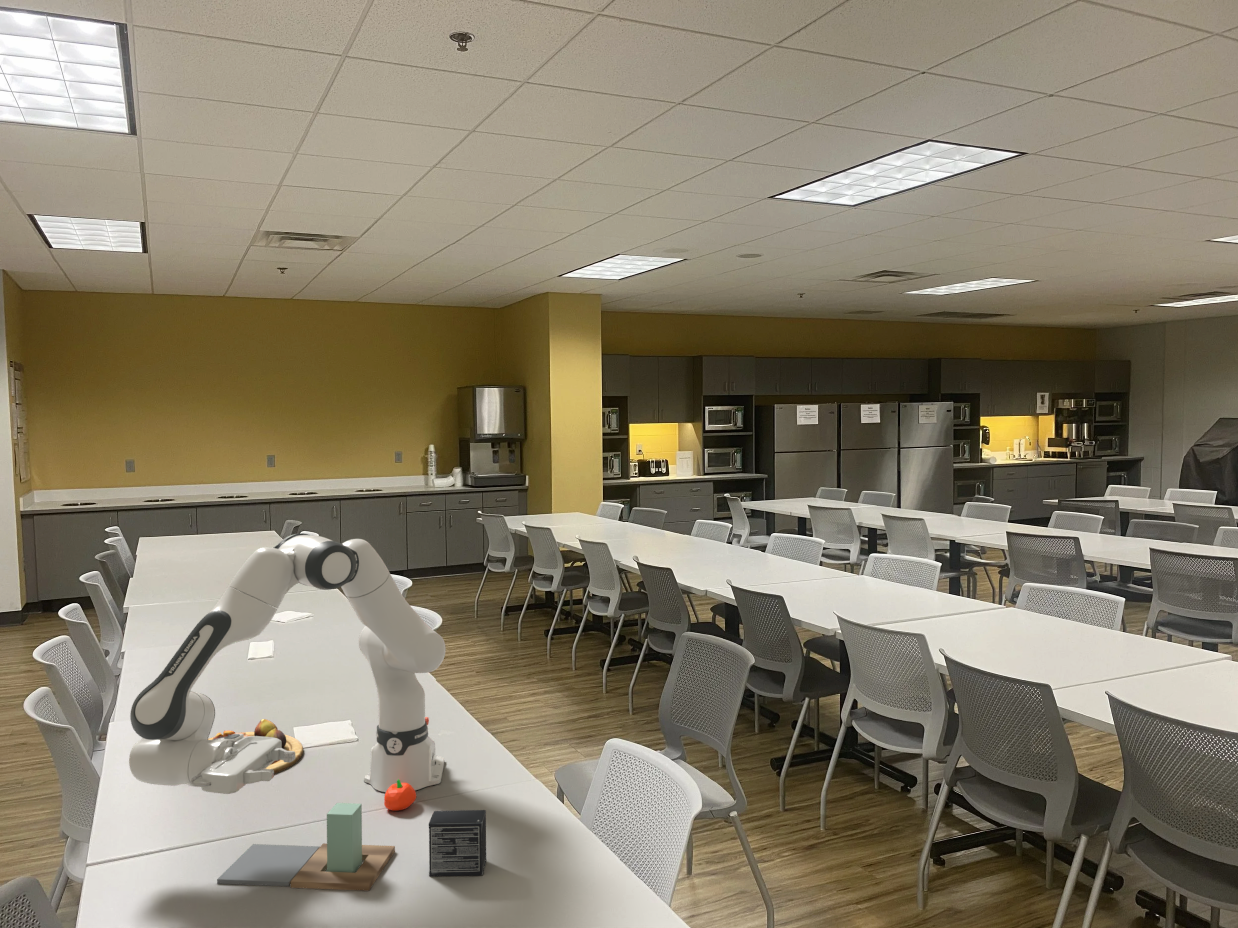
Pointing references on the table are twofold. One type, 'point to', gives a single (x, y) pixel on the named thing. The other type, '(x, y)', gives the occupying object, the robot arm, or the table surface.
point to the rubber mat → (268, 865)
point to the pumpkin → (399, 796)
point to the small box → (457, 843)
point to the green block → (344, 838)
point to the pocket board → (361, 880)
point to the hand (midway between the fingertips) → (283, 765)
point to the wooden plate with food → (270, 730)
